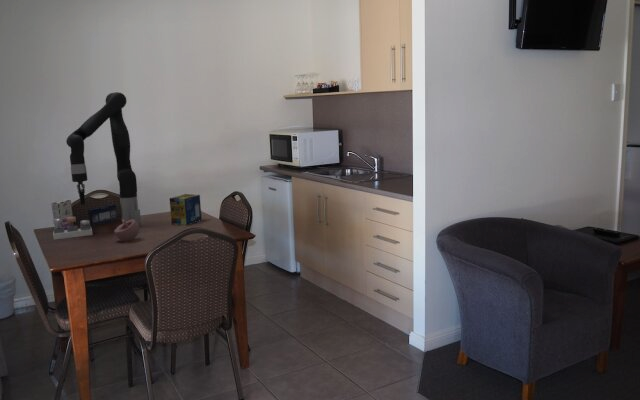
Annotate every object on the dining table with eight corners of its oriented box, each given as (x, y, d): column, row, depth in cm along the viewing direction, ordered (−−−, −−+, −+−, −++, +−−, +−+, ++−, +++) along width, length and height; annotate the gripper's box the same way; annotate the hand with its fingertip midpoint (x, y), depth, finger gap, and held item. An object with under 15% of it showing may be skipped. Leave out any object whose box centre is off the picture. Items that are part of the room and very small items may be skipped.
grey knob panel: (91, 232, 306) (90, 223, 305) (92, 234, 300) (91, 225, 299) (53, 237, 298) (52, 228, 298) (53, 239, 292) (52, 230, 291)
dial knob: (76, 224, 301) (75, 215, 300) (76, 225, 297) (75, 217, 296) (67, 225, 299) (66, 216, 298) (67, 226, 295) (66, 218, 295)
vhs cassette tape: (92, 226, 323) (90, 209, 322) (89, 226, 325) (87, 209, 323) (118, 220, 338) (116, 204, 337) (115, 220, 340) (113, 204, 338)
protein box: (171, 225, 318) (168, 198, 315) (187, 219, 332) (185, 193, 329) (186, 225, 314) (184, 198, 311) (202, 220, 328) (200, 194, 325)
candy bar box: (67, 227, 325) (63, 199, 322) (74, 227, 324) (71, 199, 321) (54, 231, 314) (50, 202, 311) (62, 231, 313) (58, 202, 310)
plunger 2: (89, 227, 304) (88, 219, 303) (90, 228, 300) (89, 220, 299) (81, 228, 302) (80, 220, 302) (81, 229, 298) (80, 221, 298)
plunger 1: (63, 225, 298) (62, 217, 298) (63, 227, 294) (62, 219, 294) (54, 226, 297) (53, 218, 296) (54, 228, 293) (53, 220, 292)
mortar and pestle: (112, 240, 283) (109, 218, 282) (135, 236, 291) (133, 215, 289) (119, 244, 274) (117, 221, 272) (143, 240, 281) (141, 218, 279)
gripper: (87, 172, 292) (91, 205, 295) (86, 170, 304) (89, 201, 307) (71, 174, 289) (75, 207, 292) (71, 172, 301) (75, 203, 303)
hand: (83, 204), depth 299 cm, fingers closed
